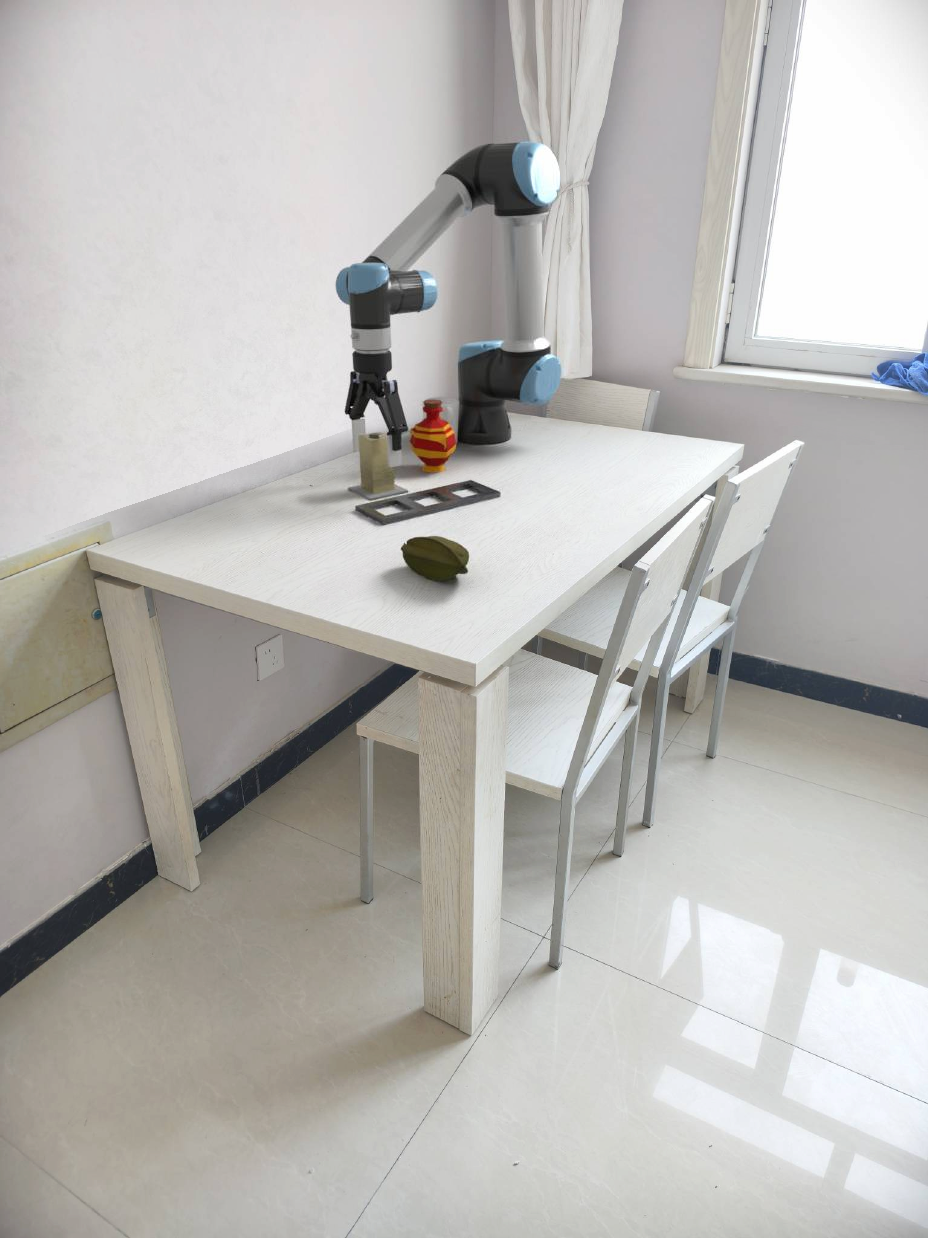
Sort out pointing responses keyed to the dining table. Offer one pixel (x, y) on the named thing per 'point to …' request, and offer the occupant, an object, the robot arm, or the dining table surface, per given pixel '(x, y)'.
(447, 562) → the fruit
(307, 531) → the dining table surface
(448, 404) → the mug
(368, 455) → the brass block with knob
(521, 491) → the dining table surface
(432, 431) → the potion bottle
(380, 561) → the dining table surface
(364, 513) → the grey triple frame
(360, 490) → the pad
